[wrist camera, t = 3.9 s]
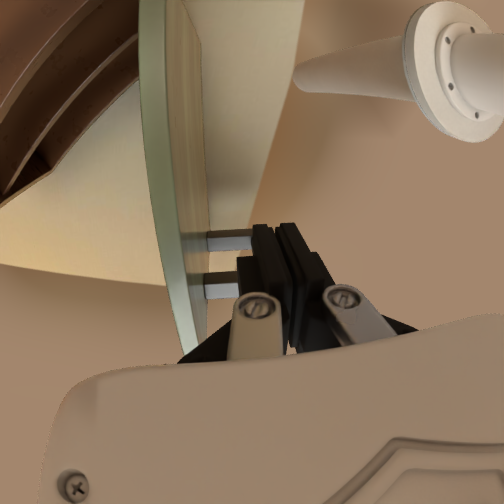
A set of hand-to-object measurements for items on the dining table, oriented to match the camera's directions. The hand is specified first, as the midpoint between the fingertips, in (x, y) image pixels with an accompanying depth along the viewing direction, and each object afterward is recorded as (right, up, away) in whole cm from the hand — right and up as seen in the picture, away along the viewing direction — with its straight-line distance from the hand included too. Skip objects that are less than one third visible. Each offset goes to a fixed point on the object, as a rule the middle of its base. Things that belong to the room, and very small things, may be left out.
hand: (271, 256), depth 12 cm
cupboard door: (-3, +11, +14) cm, 18 cm away
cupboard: (-18, +19, +8) cm, 27 cm away
